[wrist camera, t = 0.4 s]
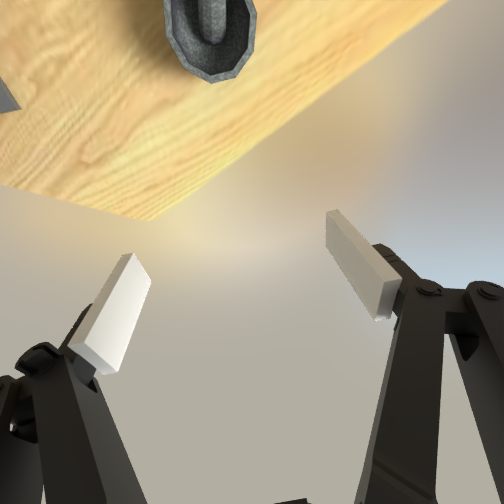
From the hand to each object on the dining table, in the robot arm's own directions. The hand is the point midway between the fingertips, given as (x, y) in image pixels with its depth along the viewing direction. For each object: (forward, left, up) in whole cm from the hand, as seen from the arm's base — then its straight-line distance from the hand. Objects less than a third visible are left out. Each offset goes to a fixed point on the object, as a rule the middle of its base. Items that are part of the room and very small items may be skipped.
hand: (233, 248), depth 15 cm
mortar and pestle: (-15, +2, -28) cm, 32 cm away
